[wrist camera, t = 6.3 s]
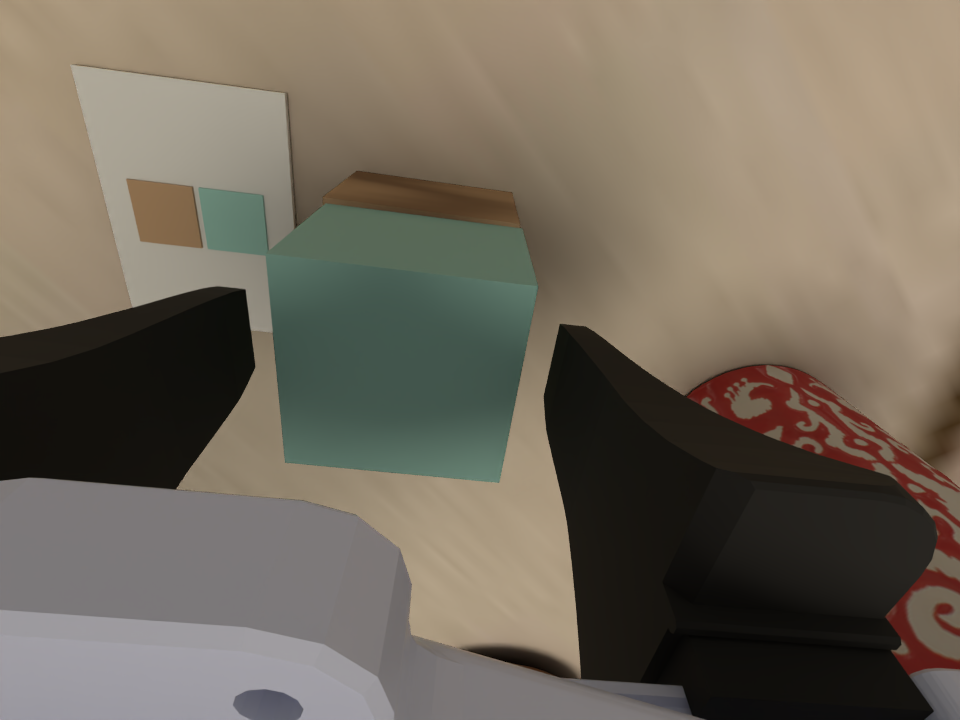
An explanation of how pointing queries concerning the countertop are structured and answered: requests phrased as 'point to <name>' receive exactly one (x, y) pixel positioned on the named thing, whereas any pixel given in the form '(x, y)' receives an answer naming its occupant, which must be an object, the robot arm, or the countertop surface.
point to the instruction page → (191, 181)
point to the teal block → (399, 341)
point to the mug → (858, 441)
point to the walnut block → (425, 199)
